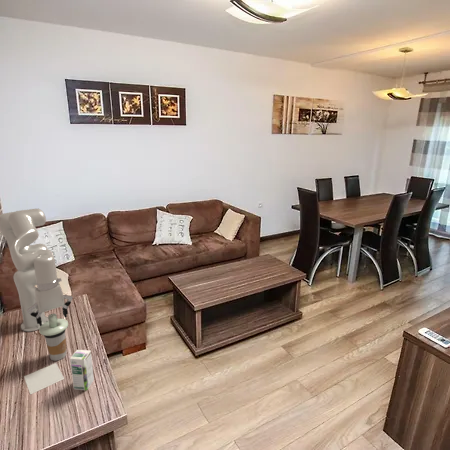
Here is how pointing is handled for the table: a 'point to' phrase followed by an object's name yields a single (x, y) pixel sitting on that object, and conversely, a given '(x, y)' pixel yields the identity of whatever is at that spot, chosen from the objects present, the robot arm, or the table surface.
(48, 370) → the mat
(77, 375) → the syrup box
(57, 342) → the coffee cup
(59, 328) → the lid
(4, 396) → the table surface
